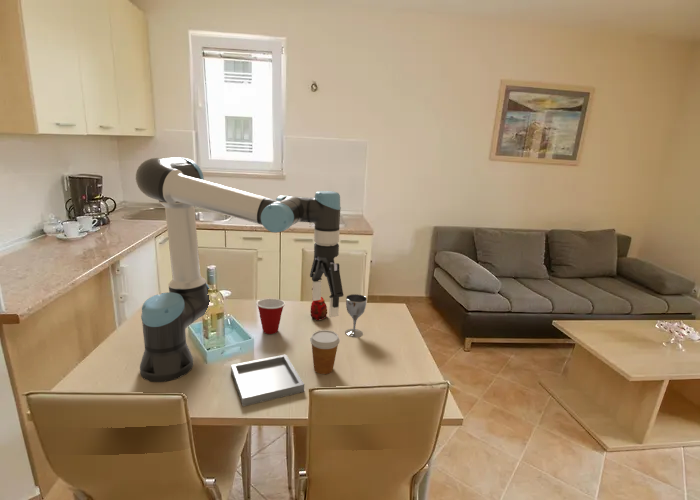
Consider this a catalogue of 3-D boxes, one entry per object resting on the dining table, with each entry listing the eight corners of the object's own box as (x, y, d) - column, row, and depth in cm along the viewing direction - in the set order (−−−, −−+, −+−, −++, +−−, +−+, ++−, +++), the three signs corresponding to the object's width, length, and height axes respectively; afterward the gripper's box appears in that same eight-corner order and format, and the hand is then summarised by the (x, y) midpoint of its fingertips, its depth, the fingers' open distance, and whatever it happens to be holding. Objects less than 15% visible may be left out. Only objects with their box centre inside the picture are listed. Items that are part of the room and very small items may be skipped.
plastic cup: (287, 325, 155) (288, 298, 152) (280, 338, 144) (280, 309, 141) (261, 323, 156) (261, 295, 152) (252, 335, 145) (252, 306, 142)
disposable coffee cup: (305, 363, 129) (307, 331, 126) (332, 359, 132) (334, 327, 129) (313, 379, 121) (314, 345, 117) (341, 374, 124) (344, 341, 121)
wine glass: (341, 335, 149) (343, 300, 145) (346, 327, 157) (349, 292, 153) (361, 339, 148) (364, 303, 144) (365, 330, 155) (368, 295, 151)
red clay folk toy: (320, 322, 159) (322, 288, 155) (306, 318, 162) (307, 285, 158) (329, 316, 166) (331, 283, 162) (315, 312, 169) (317, 280, 165)
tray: (242, 406, 106) (242, 398, 106) (231, 371, 122) (230, 364, 121) (304, 391, 114) (304, 384, 114) (285, 360, 130) (286, 354, 129)
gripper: (356, 252, 107) (353, 321, 113) (321, 233, 129) (320, 292, 134) (332, 254, 104) (330, 326, 110) (300, 234, 125) (300, 295, 131)
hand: (324, 307), depth 122 cm, fingers open, 13 cm apart
